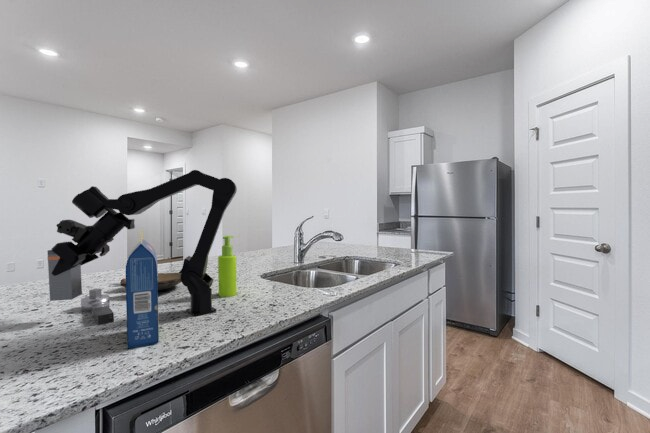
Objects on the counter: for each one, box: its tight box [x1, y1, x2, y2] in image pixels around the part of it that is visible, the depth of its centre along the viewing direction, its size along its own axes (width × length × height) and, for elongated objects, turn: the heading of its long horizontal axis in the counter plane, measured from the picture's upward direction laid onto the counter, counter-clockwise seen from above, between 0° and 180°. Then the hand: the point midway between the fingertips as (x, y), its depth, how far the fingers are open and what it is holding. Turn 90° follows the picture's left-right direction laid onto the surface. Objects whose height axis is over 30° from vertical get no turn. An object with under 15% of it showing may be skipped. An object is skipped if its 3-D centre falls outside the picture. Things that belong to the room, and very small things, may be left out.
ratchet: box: [80, 288, 115, 326], centre depth 94 cm, size 21×7×6 cm, turn 42°
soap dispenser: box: [217, 235, 238, 298], centre depth 113 cm, size 6×7×20 cm
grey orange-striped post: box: [47, 249, 83, 302], centre depth 88 cm, size 5×5×13 cm
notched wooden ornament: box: [119, 272, 182, 291], centre depth 122 cm, size 22×30×8 cm
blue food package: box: [125, 227, 160, 349], centre depth 77 cm, size 6×12×25 cm, turn 27°
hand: (59, 272), depth 88 cm, fingers closed on grey orange-striped post, 5 cm apart
